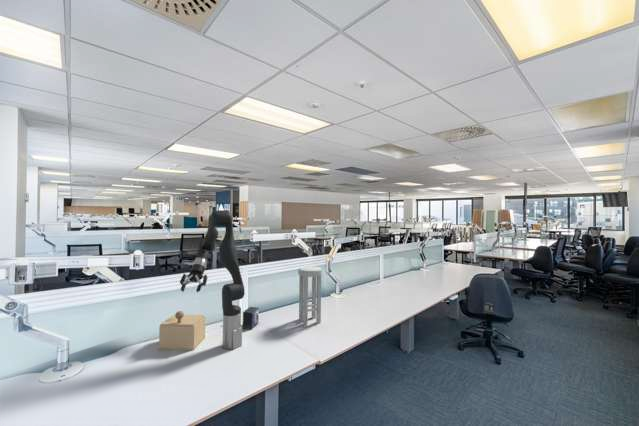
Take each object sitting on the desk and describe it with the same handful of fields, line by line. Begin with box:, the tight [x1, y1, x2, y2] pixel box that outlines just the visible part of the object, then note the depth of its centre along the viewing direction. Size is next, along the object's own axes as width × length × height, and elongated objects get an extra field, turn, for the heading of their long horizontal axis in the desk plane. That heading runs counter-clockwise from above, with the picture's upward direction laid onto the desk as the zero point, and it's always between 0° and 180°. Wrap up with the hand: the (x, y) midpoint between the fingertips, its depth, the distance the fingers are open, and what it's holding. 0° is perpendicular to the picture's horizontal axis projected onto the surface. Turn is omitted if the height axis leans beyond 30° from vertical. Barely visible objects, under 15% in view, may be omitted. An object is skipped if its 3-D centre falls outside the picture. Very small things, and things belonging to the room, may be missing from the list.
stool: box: [297, 266, 323, 326], centre depth 185 cm, size 16×16×35 cm
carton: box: [158, 316, 206, 351], centre depth 150 cm, size 14×18×12 cm
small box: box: [242, 306, 260, 330], centre depth 175 cm, size 11×6×10 cm, turn 168°
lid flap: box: [159, 310, 206, 326], centre depth 150 cm, size 14×17×7 cm
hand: (189, 291), depth 157 cm, fingers open, 8 cm apart
